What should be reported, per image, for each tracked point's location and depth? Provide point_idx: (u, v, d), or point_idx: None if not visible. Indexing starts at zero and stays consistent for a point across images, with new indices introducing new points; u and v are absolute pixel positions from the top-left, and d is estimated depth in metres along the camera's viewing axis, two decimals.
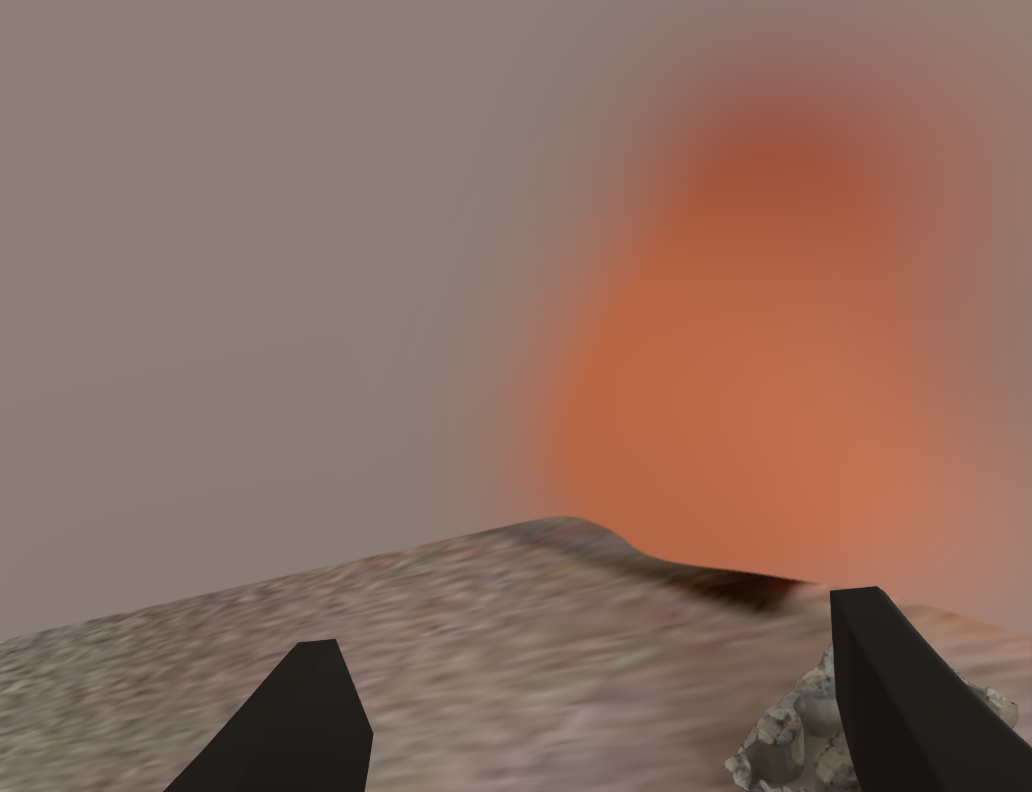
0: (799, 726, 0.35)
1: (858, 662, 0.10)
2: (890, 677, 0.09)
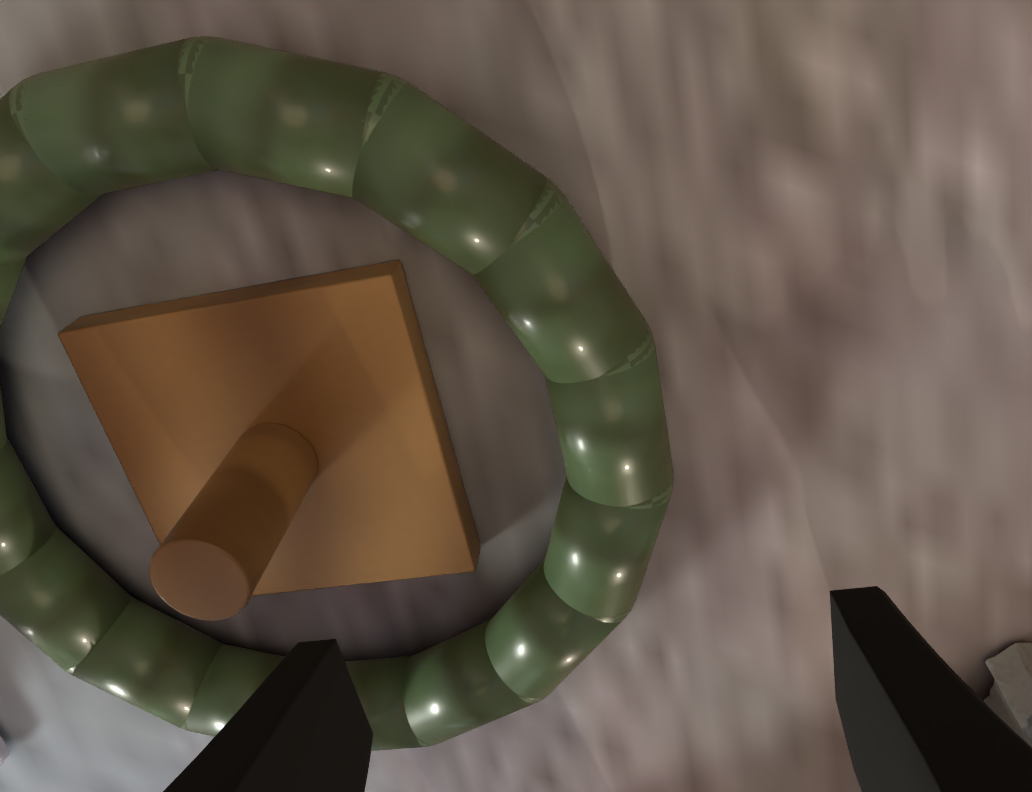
0: None
1: (858, 662, 0.10)
2: (890, 677, 0.09)
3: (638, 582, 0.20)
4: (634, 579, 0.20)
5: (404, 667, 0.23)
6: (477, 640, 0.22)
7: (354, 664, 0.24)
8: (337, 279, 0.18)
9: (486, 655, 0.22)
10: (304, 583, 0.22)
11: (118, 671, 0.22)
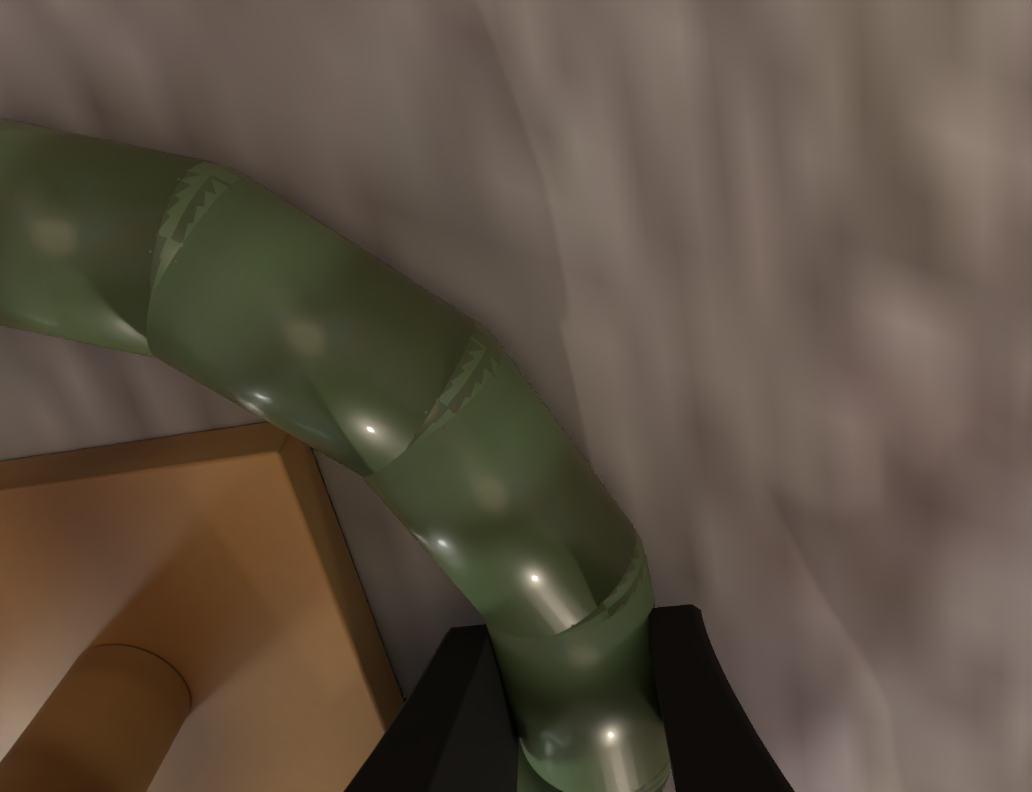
0: None
1: (655, 679, 0.11)
2: (670, 695, 0.10)
3: None
4: None
5: None
6: None
7: None
8: (201, 451, 0.12)
9: None
10: None
11: None
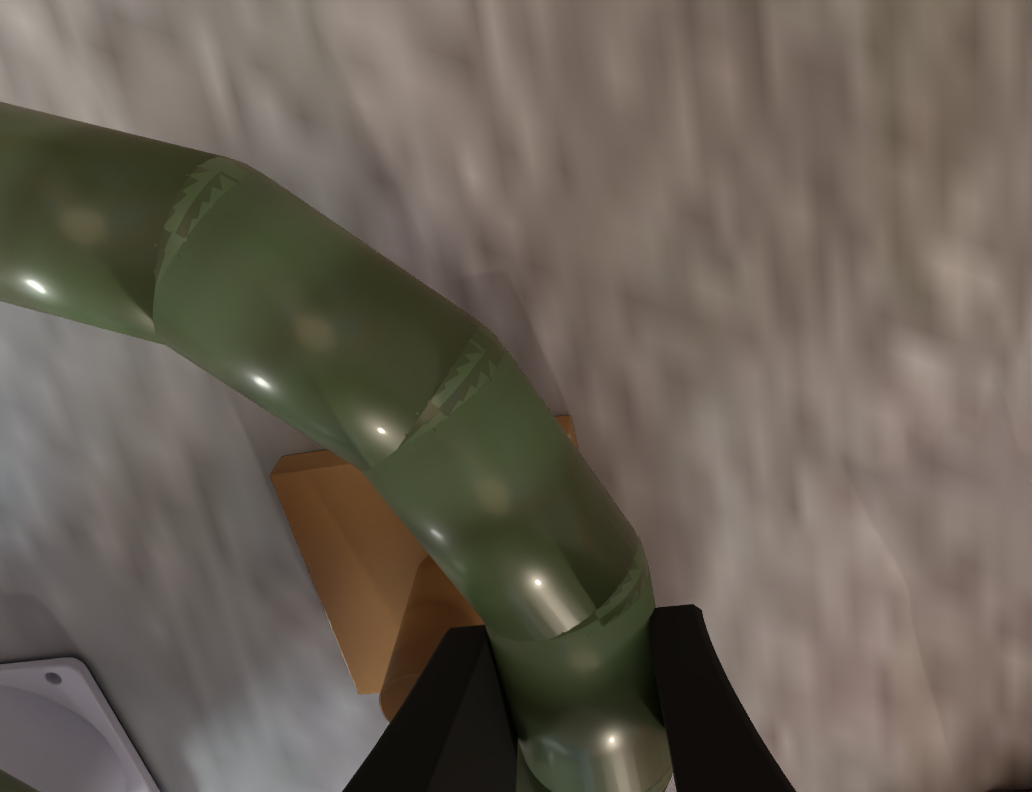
0: None
1: (656, 679, 0.11)
2: (671, 694, 0.10)
3: None
4: None
5: None
6: None
7: None
8: None
9: None
10: None
11: None
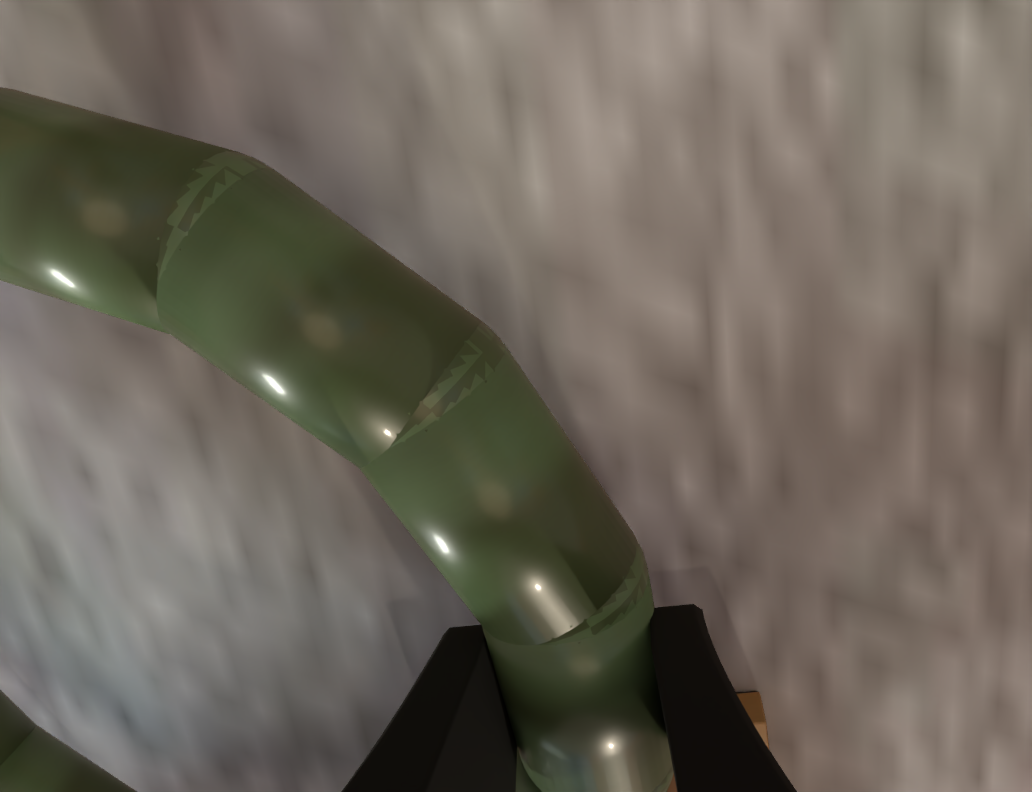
0: None
1: None
2: (671, 694, 0.10)
3: None
4: None
5: None
6: None
7: None
8: None
9: None
10: None
11: None
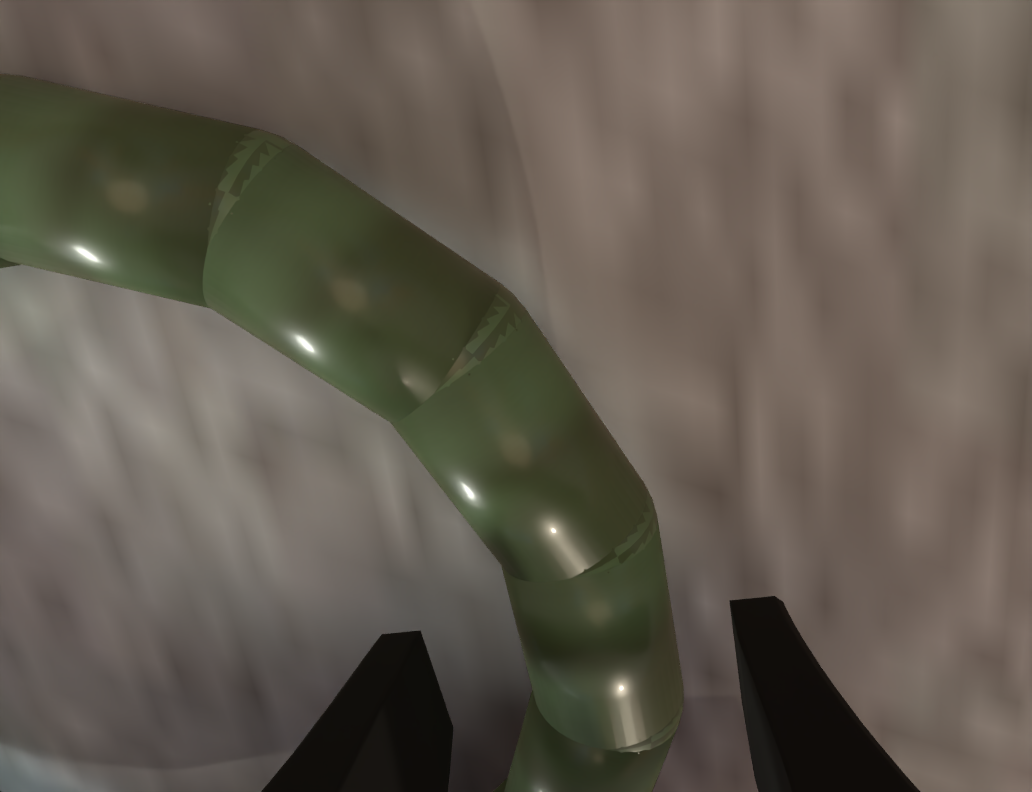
0: None
1: (746, 671, 0.10)
2: (768, 687, 0.10)
3: None
4: None
5: None
6: None
7: None
8: None
9: None
10: None
11: None
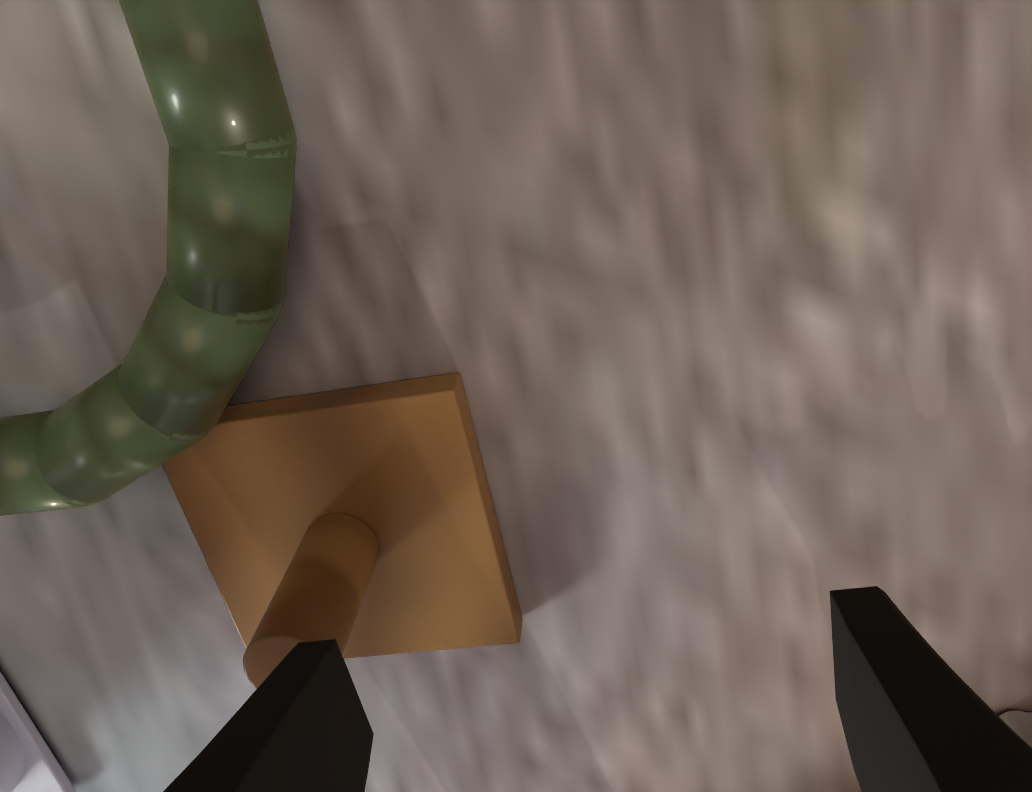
0: None
1: (858, 662, 0.10)
2: (890, 677, 0.09)
3: (262, 273, 0.17)
4: (251, 264, 0.17)
5: (49, 413, 0.20)
6: (115, 370, 0.19)
7: (5, 417, 0.21)
8: (403, 391, 0.21)
9: (116, 381, 0.19)
10: (361, 651, 0.24)
11: None
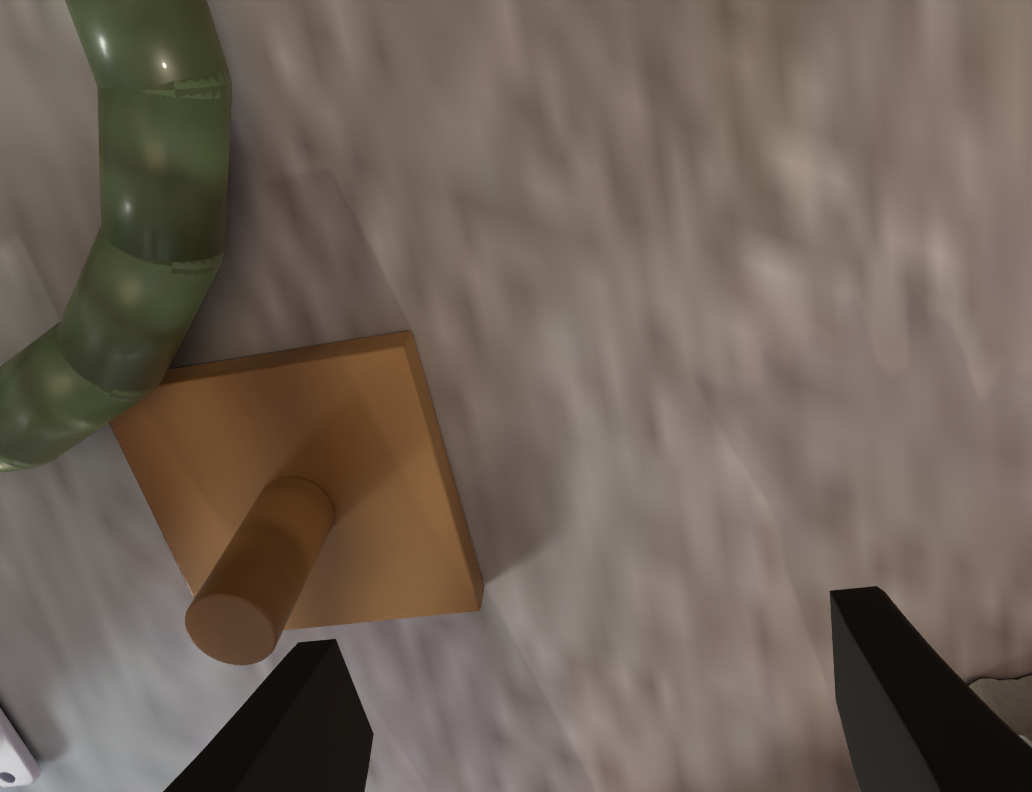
0: None
1: (858, 662, 0.10)
2: (890, 677, 0.09)
3: (197, 221, 0.17)
4: (185, 211, 0.17)
5: None
6: (55, 326, 0.19)
7: None
8: (354, 349, 0.20)
9: (55, 336, 0.18)
10: (320, 620, 0.24)
11: None
